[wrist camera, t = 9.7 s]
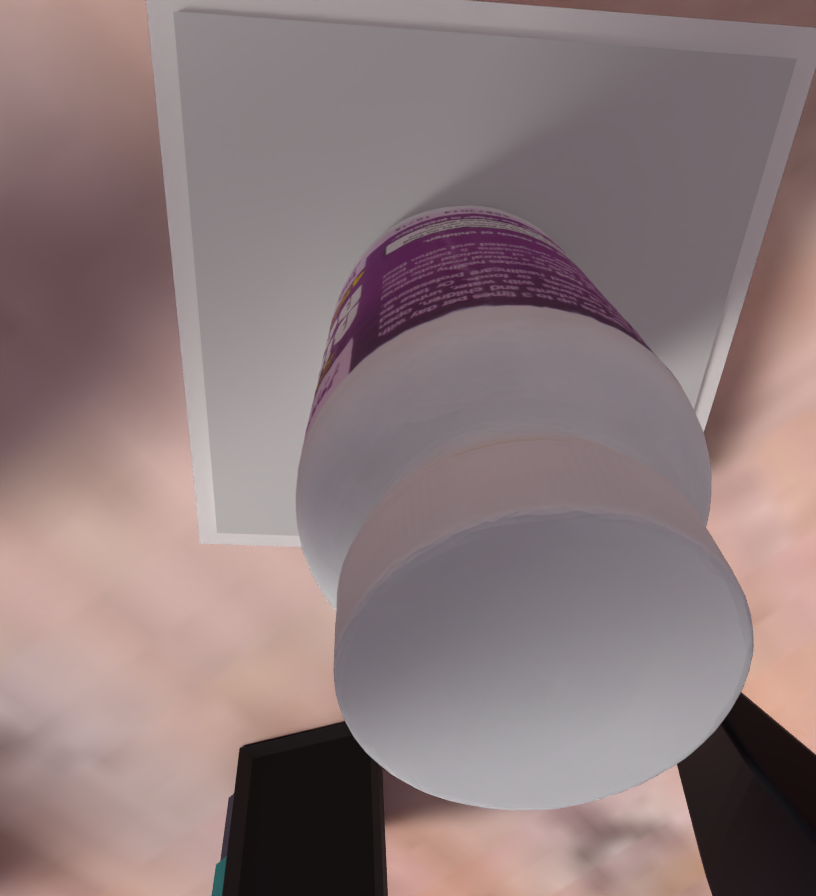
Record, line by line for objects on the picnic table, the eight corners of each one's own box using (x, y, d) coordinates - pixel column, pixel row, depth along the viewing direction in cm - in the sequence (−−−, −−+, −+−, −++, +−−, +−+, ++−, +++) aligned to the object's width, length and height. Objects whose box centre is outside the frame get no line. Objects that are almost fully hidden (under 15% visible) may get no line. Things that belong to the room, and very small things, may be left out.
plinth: (222, 483, 20) (198, 548, 18) (184, -14, 14) (139, -26, 12) (632, 499, 21) (667, 564, 18) (756, 31, 15) (833, 28, 12)
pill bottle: (299, 234, 14) (160, 500, 6) (567, 172, 14) (865, 357, 5) (365, 465, 17) (341, 888, 8) (593, 418, 16) (819, 816, 8)
